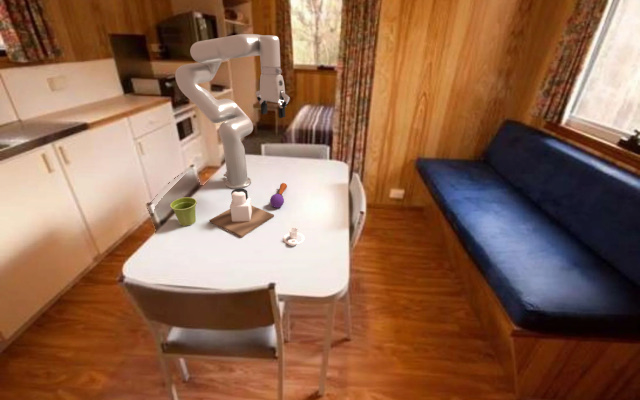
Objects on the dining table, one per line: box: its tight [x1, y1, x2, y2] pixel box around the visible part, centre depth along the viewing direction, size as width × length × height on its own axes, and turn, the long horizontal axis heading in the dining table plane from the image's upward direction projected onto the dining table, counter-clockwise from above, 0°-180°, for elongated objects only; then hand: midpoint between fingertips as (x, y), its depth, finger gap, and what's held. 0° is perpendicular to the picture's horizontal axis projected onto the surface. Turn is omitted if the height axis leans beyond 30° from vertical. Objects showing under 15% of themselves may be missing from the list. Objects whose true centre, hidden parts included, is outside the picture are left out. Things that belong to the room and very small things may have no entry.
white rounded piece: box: [282, 227, 306, 247], centre depth 113 cm, size 9×8×4 cm
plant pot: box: [169, 196, 198, 227], centre depth 120 cm, size 9×9×9 cm
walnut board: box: [209, 204, 275, 238], centre depth 125 cm, size 18×18×1 cm
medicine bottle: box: [229, 188, 252, 222], centre depth 122 cm, size 7×7×12 cm
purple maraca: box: [269, 182, 288, 209], centre depth 140 cm, size 6×6×20 cm
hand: (273, 115), depth 128 cm, fingers open, 9 cm apart
